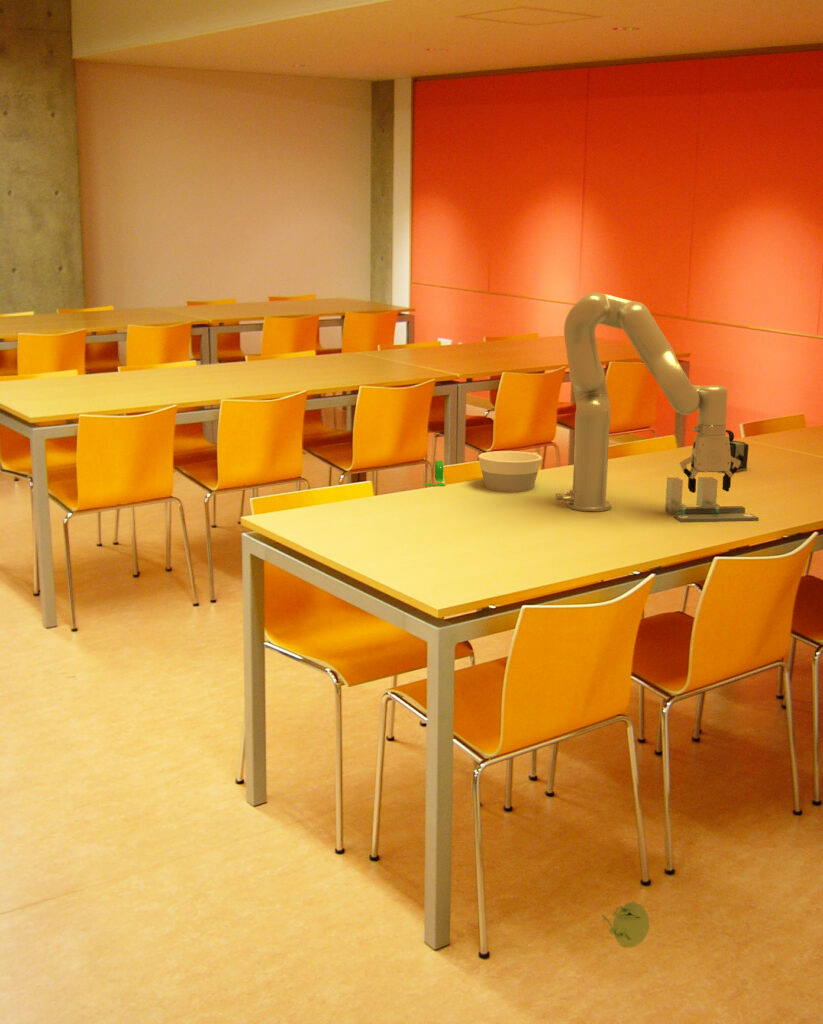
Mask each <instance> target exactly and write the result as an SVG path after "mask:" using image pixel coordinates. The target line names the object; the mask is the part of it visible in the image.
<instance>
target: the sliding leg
mask: <svg viewBox="0 0 823 1024" xmlns="http://www.w3.org/2000/svg"><path fill="white" fill-rule="evenodd" d="M718 482H719V481H718V479H717V478H714V477H713V476H699V477H698V478H697V486H696V488H697V489H696V490H697V491H696V507H700V508H715V515H718V514H719V508H720V506H721V505H720V504H718V503H717V497H718V496H717V495H718V484H719V483H718Z"/></svg>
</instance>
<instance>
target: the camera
mask: <svg viewBox="0 0 823 1024" xmlns="http://www.w3.org/2000/svg"><path fill="white" fill-rule="evenodd" d="M726 434H727V435H728V436H729V442H730V453H731V456H732V457H734V458H736V459H738V460H740V461H741V464H740V465H739V467H738V469H737V471H736V472H735V473H741V472H747V468H748V458H749V457H748V455H749V444H748V443H746V442H745V441H738V440H734V439H735V433H734V432H733V431H731V430H729V429H726ZM733 464H734V463H733V462H732V461H731V466H730V468H731V467H733ZM717 473H718V474H724V473H723V472H717Z"/></svg>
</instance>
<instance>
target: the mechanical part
mask: <svg viewBox="0 0 823 1024" xmlns="http://www.w3.org/2000/svg"><path fill="white" fill-rule="evenodd" d="M440 467H441V468H440ZM434 478H435V480H436V482H428V483H427V482H425V483H424V485H426V486H428V487H446V483H444V460H435V462H434Z"/></svg>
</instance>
